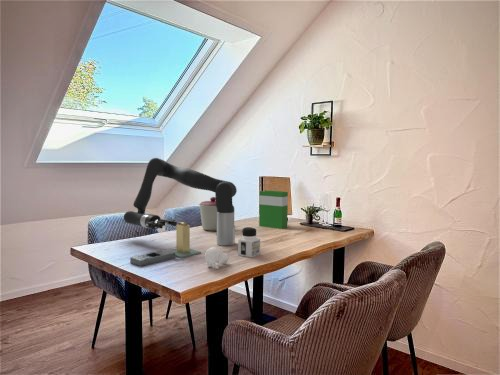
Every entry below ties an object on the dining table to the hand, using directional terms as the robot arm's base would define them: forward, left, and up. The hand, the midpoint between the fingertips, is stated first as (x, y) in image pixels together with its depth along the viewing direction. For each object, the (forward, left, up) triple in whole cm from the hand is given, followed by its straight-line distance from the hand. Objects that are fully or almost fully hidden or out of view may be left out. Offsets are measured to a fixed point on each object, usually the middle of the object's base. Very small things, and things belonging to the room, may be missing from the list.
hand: (169, 225), depth 179 cm
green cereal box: (-49, -70, -13) cm, 86 cm away
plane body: (0, +20, -12) cm, 24 cm away
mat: (-9, +7, -12) cm, 17 cm away
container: (-41, +4, -13) cm, 43 cm away
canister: (-11, -54, -12) cm, 56 cm away
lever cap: (-9, +7, -11) cm, 16 cm away
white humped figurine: (-30, +24, -13) cm, 40 cm away
